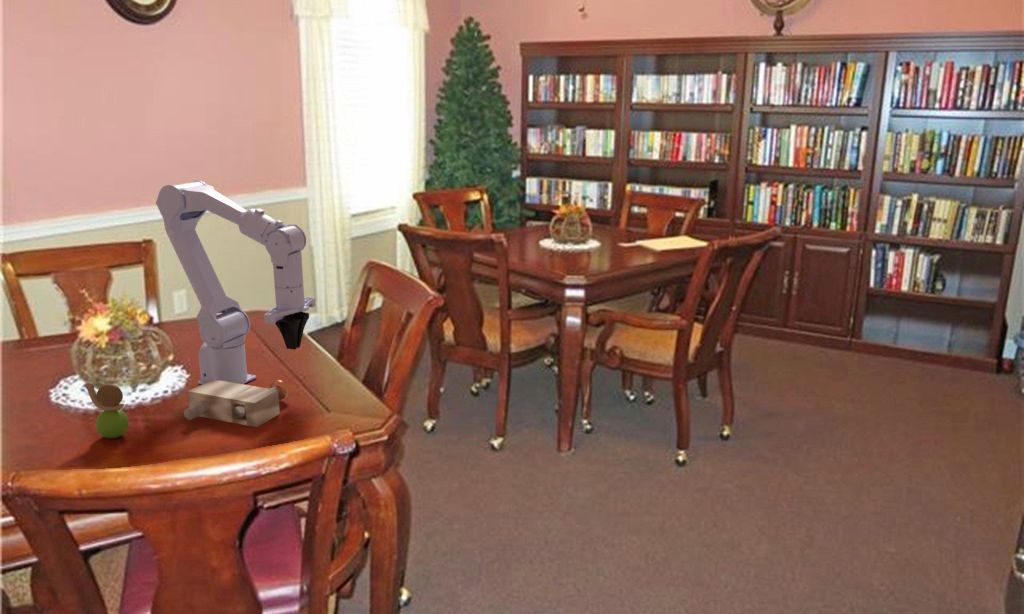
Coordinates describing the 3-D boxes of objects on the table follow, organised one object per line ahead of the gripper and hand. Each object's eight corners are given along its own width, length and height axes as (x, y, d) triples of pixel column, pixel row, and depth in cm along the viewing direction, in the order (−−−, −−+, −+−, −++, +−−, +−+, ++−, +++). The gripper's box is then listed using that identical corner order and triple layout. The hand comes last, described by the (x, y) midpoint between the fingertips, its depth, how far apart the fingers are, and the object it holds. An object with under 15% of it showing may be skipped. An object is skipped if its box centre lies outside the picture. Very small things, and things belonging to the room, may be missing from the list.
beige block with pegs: (173, 423, 150) (170, 399, 148) (218, 400, 161) (216, 377, 160) (240, 436, 144) (238, 411, 143) (282, 411, 155) (281, 388, 154)
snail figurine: (99, 431, 146) (90, 371, 143) (135, 430, 147) (127, 370, 143) (86, 443, 141) (77, 381, 138) (123, 442, 141) (115, 381, 138)
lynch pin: (231, 420, 150) (229, 400, 149) (273, 396, 162) (272, 378, 161) (247, 423, 149) (246, 403, 148) (289, 399, 161) (288, 381, 159)
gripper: (283, 295, 152) (288, 360, 155) (325, 279, 165) (329, 340, 168) (253, 291, 154) (259, 356, 158) (297, 276, 167) (301, 336, 171)
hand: (293, 347), depth 163 cm, fingers closed
